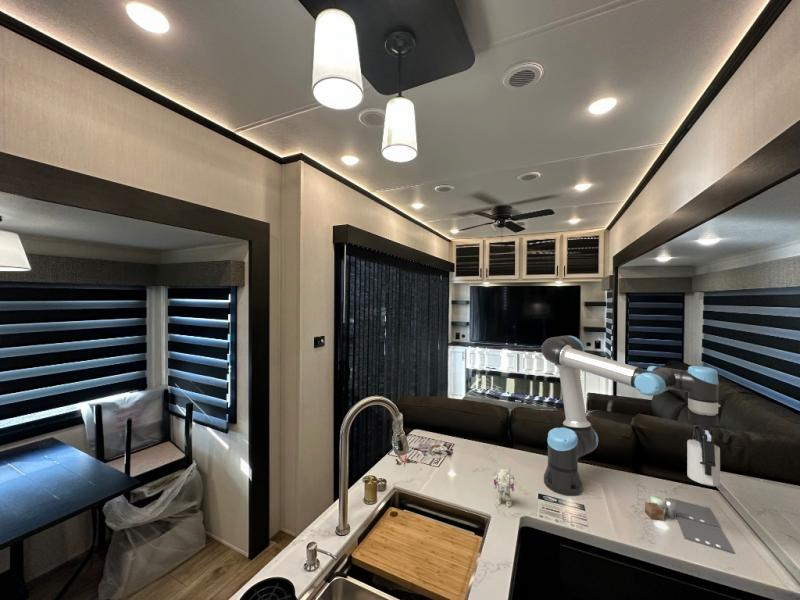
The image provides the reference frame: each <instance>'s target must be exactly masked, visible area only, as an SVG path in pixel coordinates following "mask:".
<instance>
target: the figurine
mask: <svg viewBox="0 0 800 600" xmlns="http://www.w3.org/2000/svg"><path fill="white" fill-rule="evenodd" d="M497 470H498V471H494V473H493V483H494V484H493V488H494V489H497V494H496V500H495V502H496V504H497V505H501V504H502V503H503V494H504V498H505V505H506V507H507V508H511V507H512V504H513V500H511V493H513V492H515V487H514V486H515V477H514V475H512V474H511V467H508V468H507V469H506V468H505V469H504V468H502V467H501V466H500V465H498V468H497Z"/></svg>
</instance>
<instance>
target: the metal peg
mask: <svg viewBox="0 0 800 600" xmlns="http://www.w3.org/2000/svg"><path fill="white" fill-rule="evenodd" d="M669 498H670V497H669ZM669 498H668V497H667V498H664V517H666V518H667V519H669V520H676V515H675V501H673V500H672V499H673V498H672V499H669Z"/></svg>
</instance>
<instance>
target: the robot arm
mask: <svg viewBox="0 0 800 600" xmlns="http://www.w3.org/2000/svg"><path fill="white" fill-rule="evenodd" d="M541 353H542V356H543V357H544V358H545V359H546V360H547V361H548V362H550V363H553V364H554V366H556V367H557V368H558V373H559V374H558V375H559V381H560V387H561V395H562V403H563V408H564V409H563V410H564V416H565V419H564V421H563V422H562V427H554V428H552V429H550V430H549V431H548V433H547V439H546V441H547V466H546V469H545V472H544V473H543V484H544V485H545V486H546V487H547V488H548V489H549V490H551V491H553V492H555V493H556V494H560V495H563V496H569V497H570V496H574V497H575V496H579V495H580V494H582V492H583V483H582V479H581V477H580V473H579V469H578V468H579V467H578V466H579V465H578V460H579V458H581V457H584V456H585V455H588V454H591V453H592V452H593V451H594V450H596V449H597V447H598V444H599V436H598V434H597V432H596V431H595V430H594V428H593V427H592V423H591V422H589V420H588V419H587V414H586V413H587V411H586V406H585V400H584V392H583V387H582V380H581V379H582V378H581V373H580V371H584V372H587V373H589V374H593V375H595V376H599V377H600V378H601V377H602V378H605V379H608V380H610V381H613V382H617V383H619V384H622V385H625V386H629V387H630V388H634V389H636V390H637V391H638V392H639V393H640V394H642V395H645V396H658V395H661V394H663V393H664V392H667V391H669V390H675V391H679V392H685V393H687V394H688V395H687V409H689V410H688V413H687V419H688V421H689V422H690V423H692V440H696V441H699V442H700V444H701V448H702V462H700V464H701V482H702V483H705V484H709V485H713V467H715V466H716V464H715V450H714V445H715V435H714V433H713V430H711V428H712V427H713V428H717V427H718V426H719V415H718V414H719V408H720V407H722V406H721V404H720V403H719V388H720V386H719V384H720V382H719V375H718V371H717V369H714V368H712V367H708V366H700V365H690V366H688V367H687V368H688V369H686V370H682V369H676V368H670V367H664V366H663V367H662V366H660V365H658V366H655V365H650V366H648V367H647V369H646V368H645V369H644V368H641V367H638V366H634V365H631V364H626V363H624V362H620V361H618V360H614V359H610V358H606V357H603V356H600V355H596V354H592V353H589V352H585V345H584V344H583V342H582V341H581V339H579V338H577V337H576V336H573V335H560V336H554V337H549V338H547V339H546V340H545V341H544V342H543V343H542V345H541Z"/></svg>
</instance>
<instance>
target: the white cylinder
mask: <svg viewBox="0 0 800 600" xmlns="http://www.w3.org/2000/svg"><path fill="white" fill-rule="evenodd" d="M686 447H687V448H686V449H687V454H686V457H687V459H686V460H687V461H686V463H687V466H686V468H687V469H686V470H687V471H686V473H687V477H688V479H690V480H692V481H694V482H697V483H699V484H701V485H705V486H708V487H718V486H721V449H720V447H719V446H718V445H716V444H714V450H715V464H716V466H715V467H713V485H709V484H705V483H702V482H701V464H700V462H702V448H701V444H700V442H699V441H696V440H693V439H687V442H686Z"/></svg>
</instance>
